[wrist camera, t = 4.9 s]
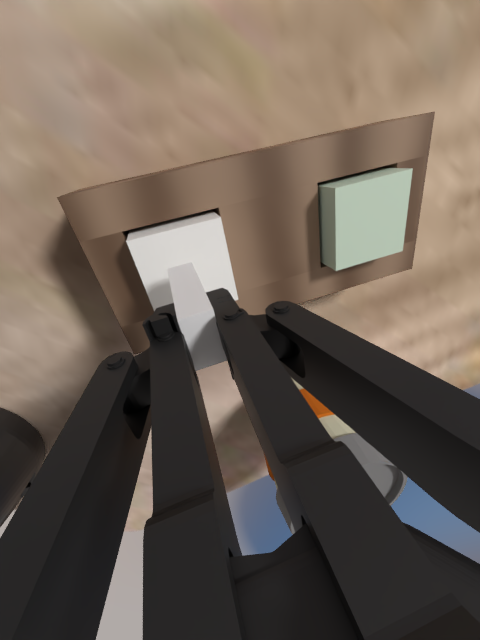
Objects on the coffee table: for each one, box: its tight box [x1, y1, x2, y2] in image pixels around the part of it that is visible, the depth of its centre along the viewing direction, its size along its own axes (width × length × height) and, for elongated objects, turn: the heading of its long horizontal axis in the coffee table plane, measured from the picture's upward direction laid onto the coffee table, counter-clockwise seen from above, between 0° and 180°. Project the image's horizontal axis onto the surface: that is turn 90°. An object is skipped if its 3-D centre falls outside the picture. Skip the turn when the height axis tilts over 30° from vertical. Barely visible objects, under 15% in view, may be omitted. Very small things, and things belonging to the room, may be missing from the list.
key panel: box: [57, 112, 435, 354], centre depth 24 cm, size 26×12×6 cm, turn 101°
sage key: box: [317, 168, 413, 271], centre depth 23 cm, size 6×6×5 cm
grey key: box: [126, 210, 238, 311], centre depth 21 cm, size 6×6×5 cm
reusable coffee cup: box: [264, 378, 407, 534], centre depth 32 cm, size 13×13×15 cm
